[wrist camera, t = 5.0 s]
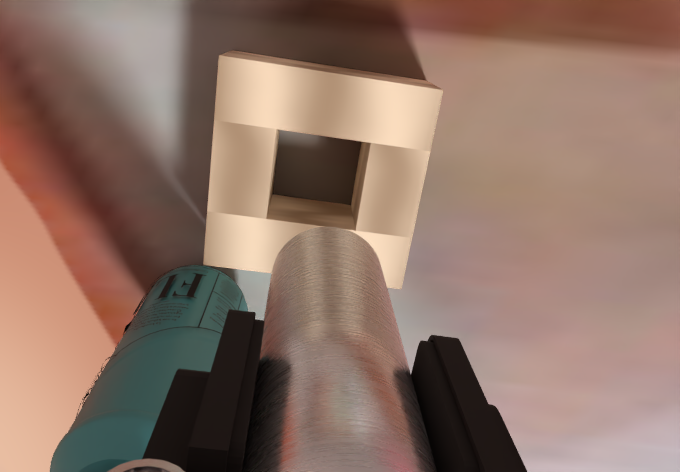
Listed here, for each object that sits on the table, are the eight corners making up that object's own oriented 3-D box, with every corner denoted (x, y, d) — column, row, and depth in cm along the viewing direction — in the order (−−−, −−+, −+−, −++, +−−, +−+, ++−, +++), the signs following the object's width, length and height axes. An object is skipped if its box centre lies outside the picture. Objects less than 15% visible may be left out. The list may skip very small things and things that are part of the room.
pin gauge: (392, 235, 16) (728, 1167, 3) (371, 333, 17) (552, 1326, 4) (279, 219, 16) (111, 1180, 3) (265, 319, 17) (97, 1349, 4)
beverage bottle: (222, 234, 35) (116, 479, 17) (272, 319, 37) (229, 619, 19) (131, 277, 36) (-68, 557, 17) (186, 358, 38) (62, 682, 20)
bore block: (426, 80, 32) (443, 90, 28) (391, 257, 36) (401, 288, 32) (231, 50, 31) (218, 55, 27) (216, 235, 35) (203, 264, 31)
